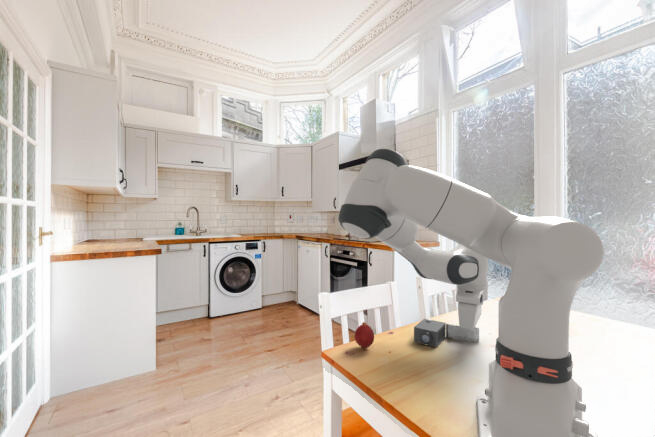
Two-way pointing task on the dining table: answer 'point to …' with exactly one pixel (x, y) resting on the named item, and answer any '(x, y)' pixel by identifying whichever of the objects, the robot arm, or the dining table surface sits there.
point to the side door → (460, 333)
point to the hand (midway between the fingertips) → (471, 336)
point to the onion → (364, 335)
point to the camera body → (430, 332)
